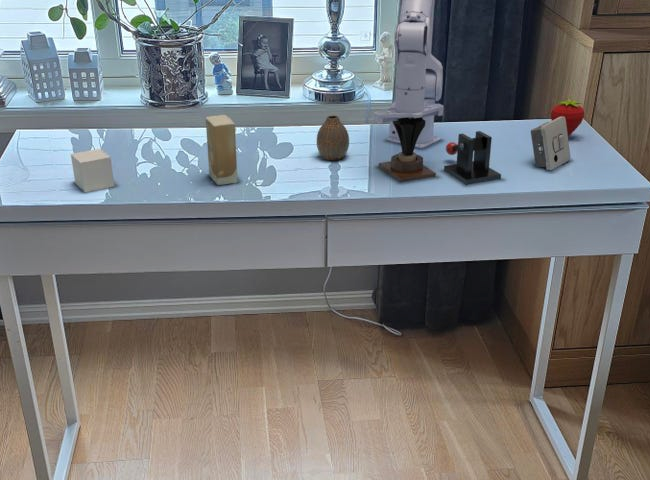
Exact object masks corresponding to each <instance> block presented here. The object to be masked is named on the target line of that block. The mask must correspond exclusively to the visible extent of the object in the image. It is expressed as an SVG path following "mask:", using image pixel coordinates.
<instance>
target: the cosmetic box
mask: <svg viewBox="0 0 650 480" xmlns="http://www.w3.org/2000/svg"><path fill="white" fill-rule="evenodd" d="M205 129H206V146H207V161H208V173H209V174H208V175H209V177H210V178H211V179H212V181H213V182H214V183H215V184H216V185H217V186H224V185H229V184H237V183H239V182H238V163H237V162H238V160H237V140H236V139H237V138H236V123H235V122H234V121H233V120H232V119H231V118H230V117H229V116H227V115H226V114H218V115H211V116H205Z"/></svg>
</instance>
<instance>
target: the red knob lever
mask: <svg viewBox="0 0 650 480" xmlns="http://www.w3.org/2000/svg"><path fill="white" fill-rule="evenodd" d="M471 138H472V139H474V150H473V152H474V151H476V150H481V149H483V141H482V137H478V138H475V137H471ZM457 150H458V143H456V142H453V141H450V142H449V143H447V145H446V146H445V151H446V153H447V154H448V155H449V156H454V155H457Z"/></svg>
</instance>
